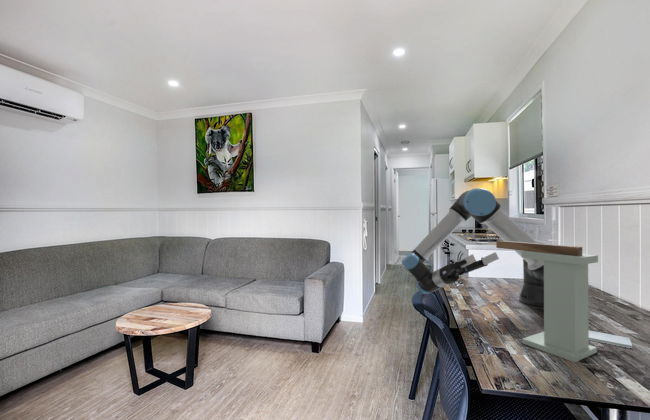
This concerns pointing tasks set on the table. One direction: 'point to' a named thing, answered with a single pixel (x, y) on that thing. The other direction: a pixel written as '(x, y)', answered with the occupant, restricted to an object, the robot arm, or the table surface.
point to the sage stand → (564, 306)
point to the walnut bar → (540, 247)
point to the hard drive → (610, 339)
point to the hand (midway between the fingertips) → (485, 256)
